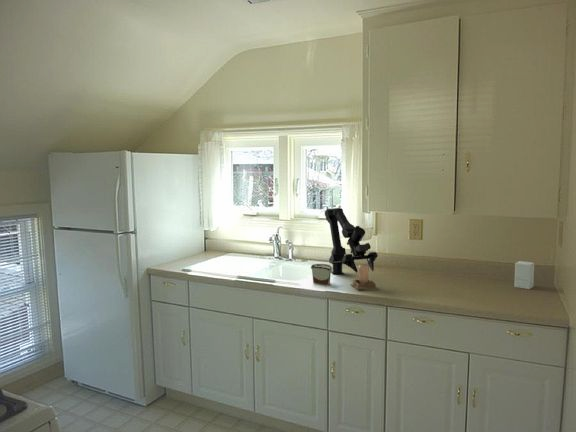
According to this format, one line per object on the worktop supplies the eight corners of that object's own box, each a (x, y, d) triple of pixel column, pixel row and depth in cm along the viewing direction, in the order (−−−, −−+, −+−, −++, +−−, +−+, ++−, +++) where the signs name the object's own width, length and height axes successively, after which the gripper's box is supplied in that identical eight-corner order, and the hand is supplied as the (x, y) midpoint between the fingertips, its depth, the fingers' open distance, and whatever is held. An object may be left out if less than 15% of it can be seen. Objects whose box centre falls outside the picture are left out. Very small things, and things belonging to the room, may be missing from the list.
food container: (336, 283, 237) (336, 265, 236) (330, 286, 232) (330, 267, 230) (316, 280, 244) (316, 262, 242) (310, 282, 239) (310, 264, 237)
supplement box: (533, 286, 225) (535, 262, 224) (529, 289, 220) (530, 265, 219) (518, 284, 231) (519, 260, 229) (513, 286, 225) (514, 262, 224)
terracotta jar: (358, 284, 231) (358, 264, 229) (368, 284, 230) (368, 264, 229) (359, 287, 226) (359, 266, 224) (369, 287, 225) (369, 266, 224)
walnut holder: (350, 285, 232) (350, 279, 232) (369, 284, 234) (369, 278, 234) (357, 291, 221) (357, 285, 221) (378, 289, 224) (378, 283, 223)
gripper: (344, 239, 226) (354, 264, 217) (376, 236, 232) (387, 261, 223) (337, 251, 234) (346, 276, 225) (368, 249, 240) (378, 273, 231)
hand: (365, 271), depth 226 cm, fingers open, 9 cm apart
